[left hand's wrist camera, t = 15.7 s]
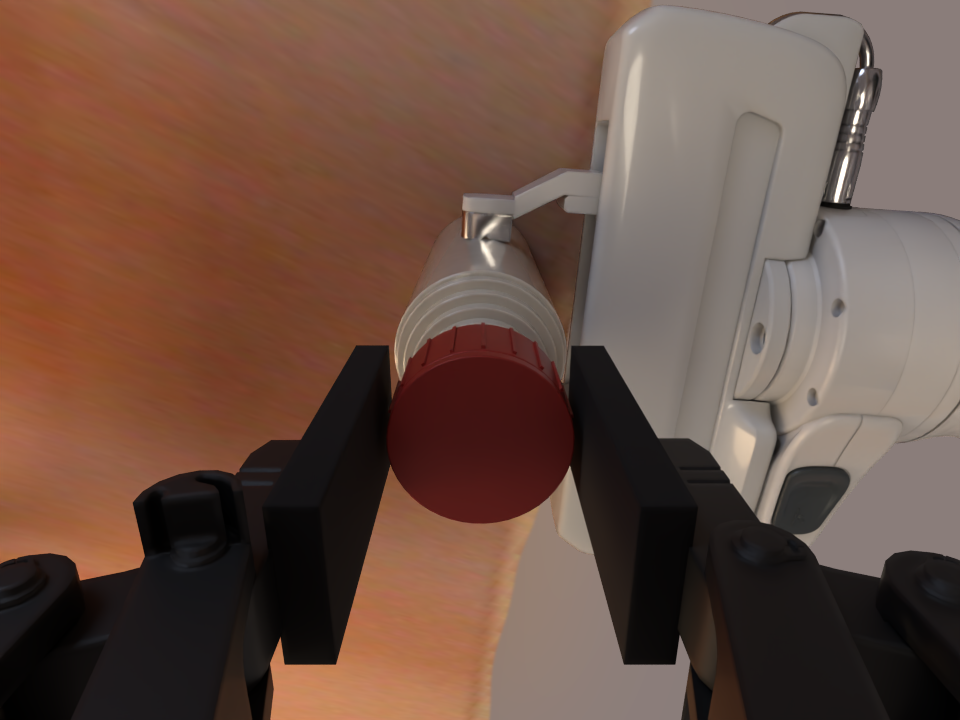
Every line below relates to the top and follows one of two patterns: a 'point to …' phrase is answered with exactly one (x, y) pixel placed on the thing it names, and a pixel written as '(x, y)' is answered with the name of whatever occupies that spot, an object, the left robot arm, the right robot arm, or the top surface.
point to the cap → (480, 425)
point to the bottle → (479, 295)
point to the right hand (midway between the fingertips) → (457, 300)
